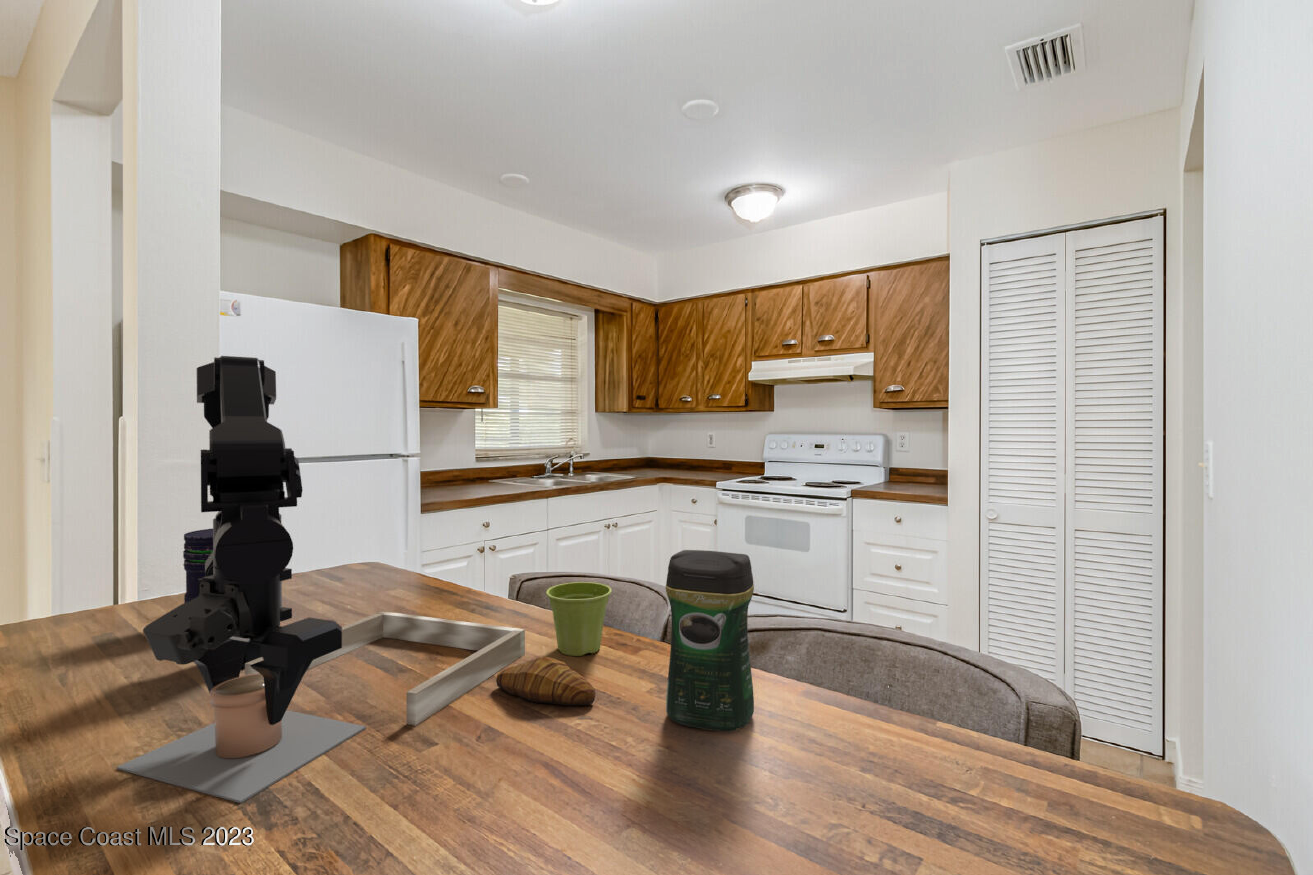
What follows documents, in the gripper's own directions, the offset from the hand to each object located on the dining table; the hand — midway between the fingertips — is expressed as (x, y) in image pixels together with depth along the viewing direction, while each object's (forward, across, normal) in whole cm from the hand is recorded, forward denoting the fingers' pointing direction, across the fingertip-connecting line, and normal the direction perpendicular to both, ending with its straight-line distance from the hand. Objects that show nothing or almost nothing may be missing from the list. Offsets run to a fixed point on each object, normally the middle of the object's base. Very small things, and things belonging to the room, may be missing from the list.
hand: (249, 717), depth 62 cm
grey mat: (+3, 0, 0) cm, 3 cm away
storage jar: (+3, -41, +27) cm, 49 cm away
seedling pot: (+3, 0, 0) cm, 3 cm away
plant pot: (+3, +19, +36) cm, 41 cm away
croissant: (+3, +22, +20) cm, 30 cm away
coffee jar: (+3, +42, +22) cm, 48 cm away
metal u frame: (+3, 0, +20) cm, 20 cm away
